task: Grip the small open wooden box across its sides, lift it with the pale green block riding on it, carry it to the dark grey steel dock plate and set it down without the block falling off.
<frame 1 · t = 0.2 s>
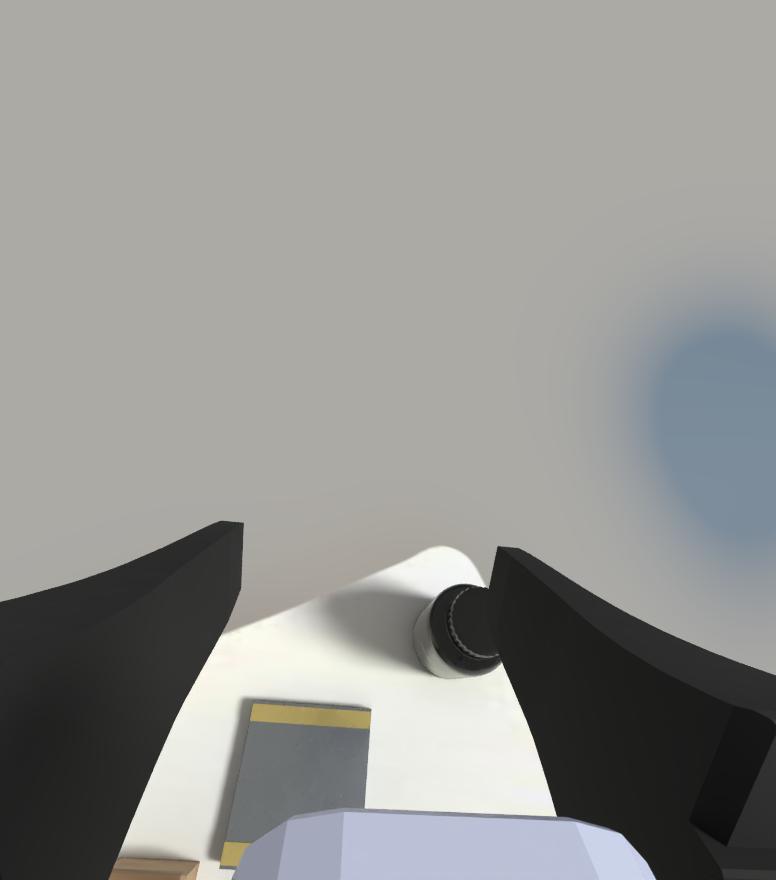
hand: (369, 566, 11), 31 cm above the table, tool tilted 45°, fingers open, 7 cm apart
supplement bottle: (446, 640, 39), on the table
dock: (303, 778, 32), on the table
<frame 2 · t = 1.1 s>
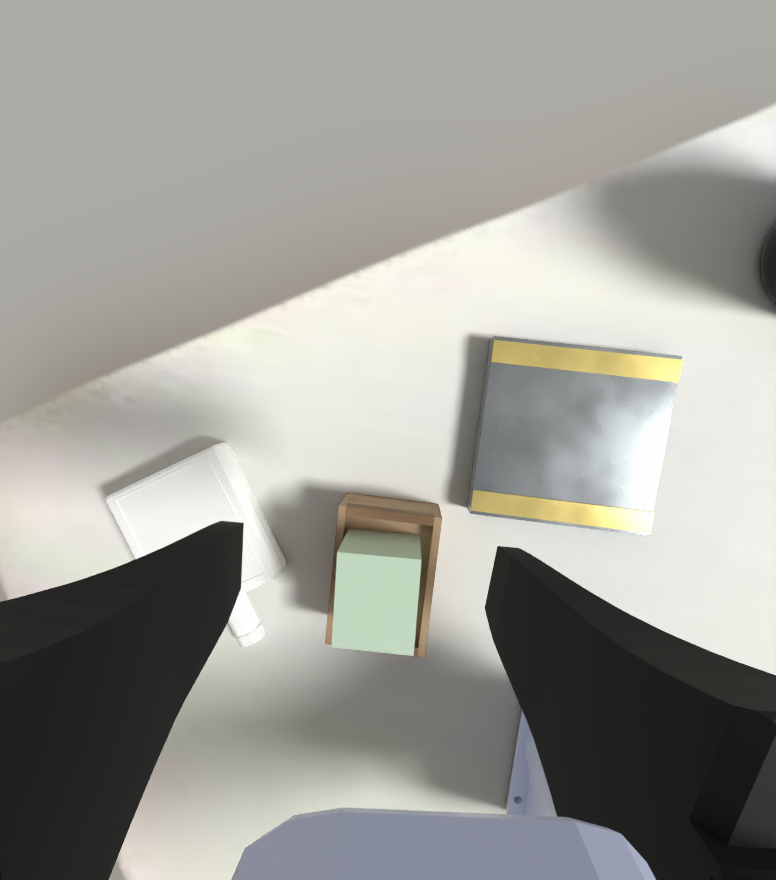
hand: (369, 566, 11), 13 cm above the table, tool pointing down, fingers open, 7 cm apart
open wooden box: (386, 558, 25), on the table
pale green block: (381, 573, 22), point 2 cm above the table
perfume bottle: (220, 549, 26), on the table
dock: (564, 435, 23), on the table
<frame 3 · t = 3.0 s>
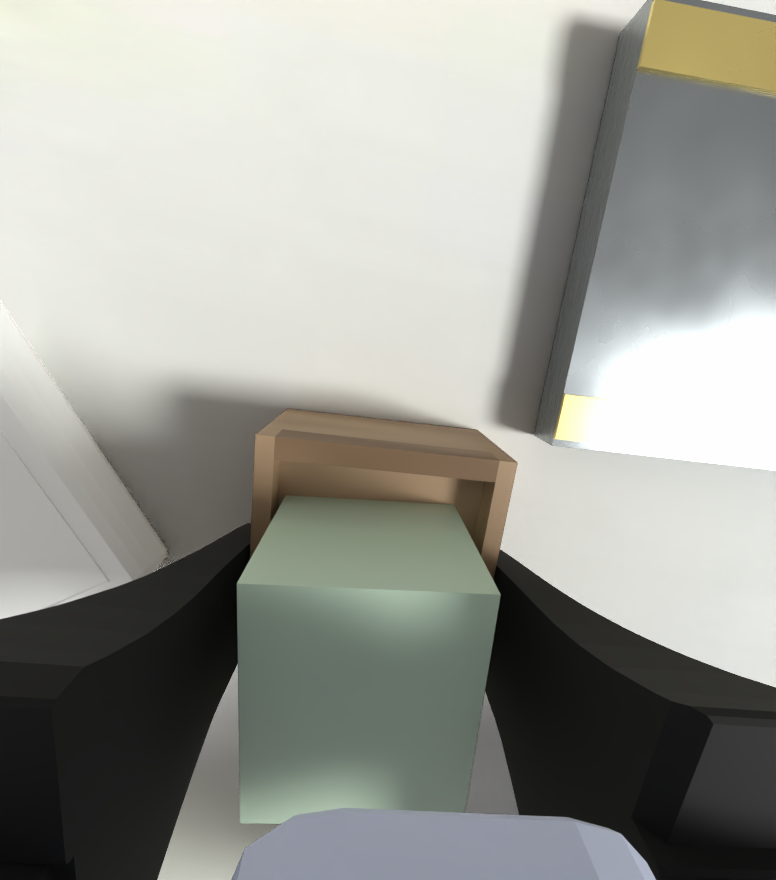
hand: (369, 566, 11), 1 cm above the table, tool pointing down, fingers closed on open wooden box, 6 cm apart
open wooden box: (369, 543, 13), on the table, touching pale green block, gripper
pale green block: (364, 589, 10), point 3 cm above the table, touching open wooden box
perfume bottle: (27, 527, 13), on the table
dock: (743, 281, 11), on the table
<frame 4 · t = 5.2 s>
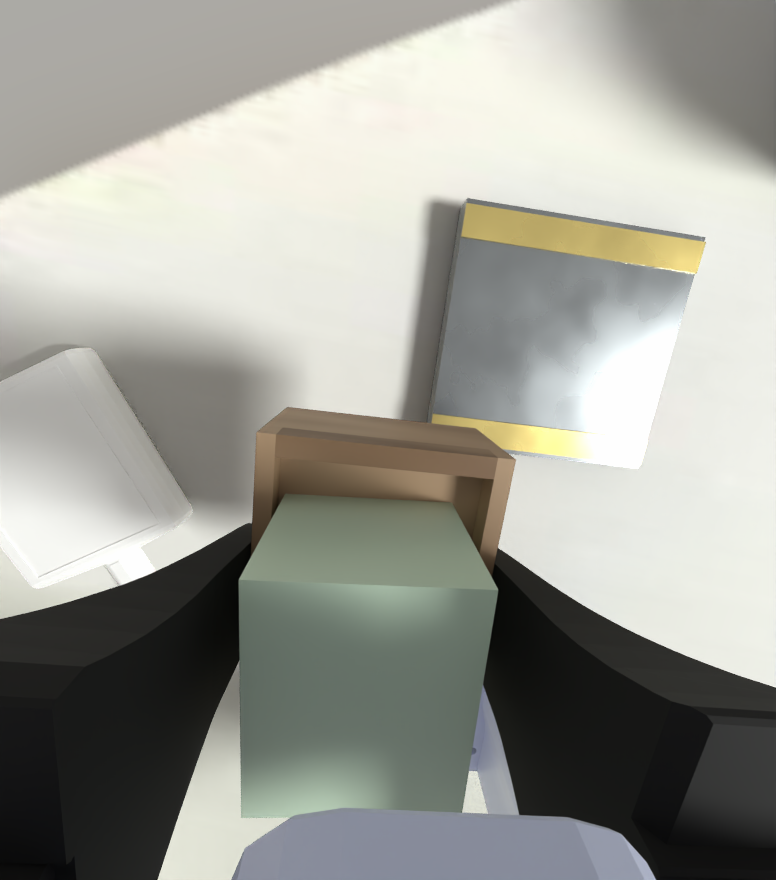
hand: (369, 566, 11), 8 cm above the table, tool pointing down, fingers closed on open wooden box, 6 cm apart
open wooden box: (368, 540, 13), point 7 cm above the table, touching pale green block, gripper
pale green block: (363, 586, 10), point 9 cm above the table, touching open wooden box
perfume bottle: (102, 494, 20), on the table
dock: (548, 345, 18), on the table
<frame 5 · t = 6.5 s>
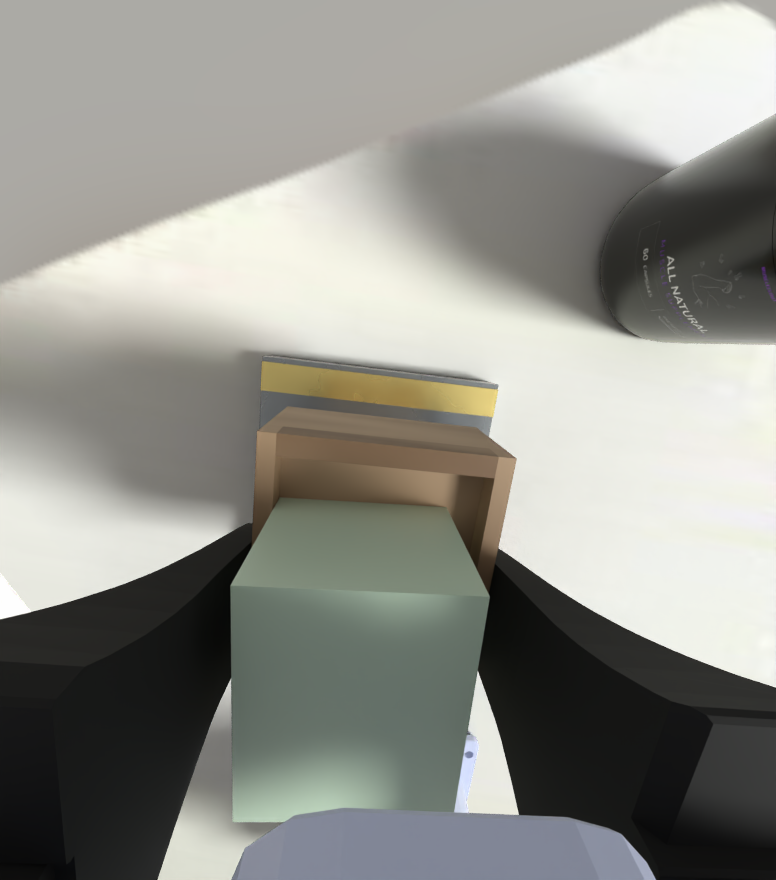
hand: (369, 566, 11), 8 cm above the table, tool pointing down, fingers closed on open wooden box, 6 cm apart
open wooden box: (368, 540, 13), point 7 cm above the table, touching pale green block, gripper
pale green block: (357, 590, 10), point 9 cm above the table, touching open wooden box
supplement bottle: (666, 265, 18), on the table
dock: (369, 473, 19), on the table
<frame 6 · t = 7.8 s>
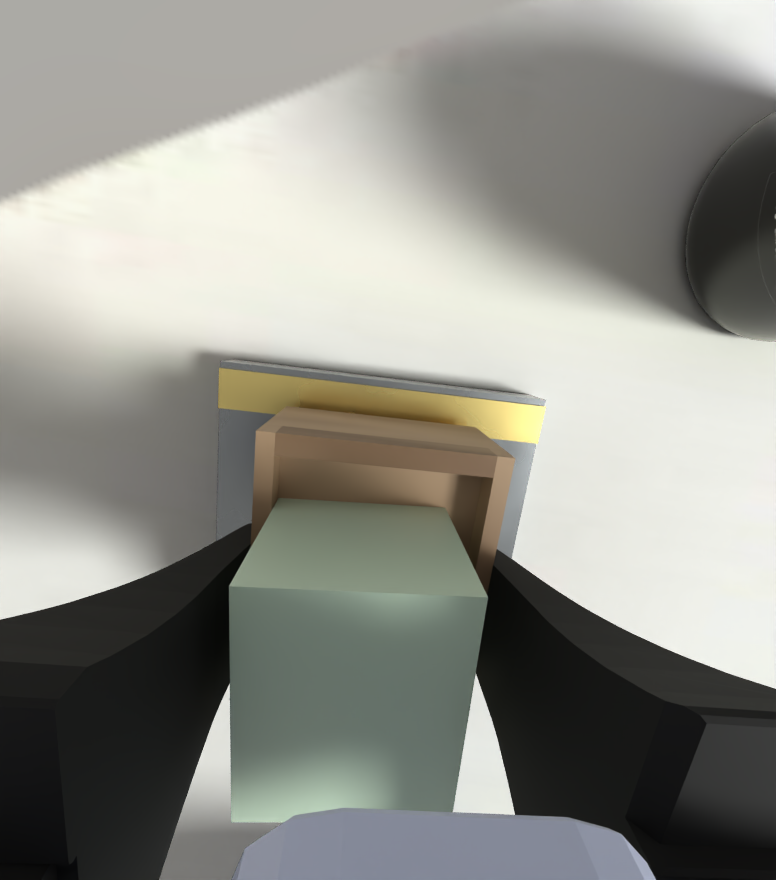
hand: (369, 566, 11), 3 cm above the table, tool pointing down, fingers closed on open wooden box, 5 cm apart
open wooden box: (367, 539, 13), point 2 cm above the table, touching pale green block, gripper
pale green block: (356, 590, 10), point 4 cm above the table, touching open wooden box
supplement bottle: (772, 236, 13), on the table
dock: (369, 515, 14), on the table
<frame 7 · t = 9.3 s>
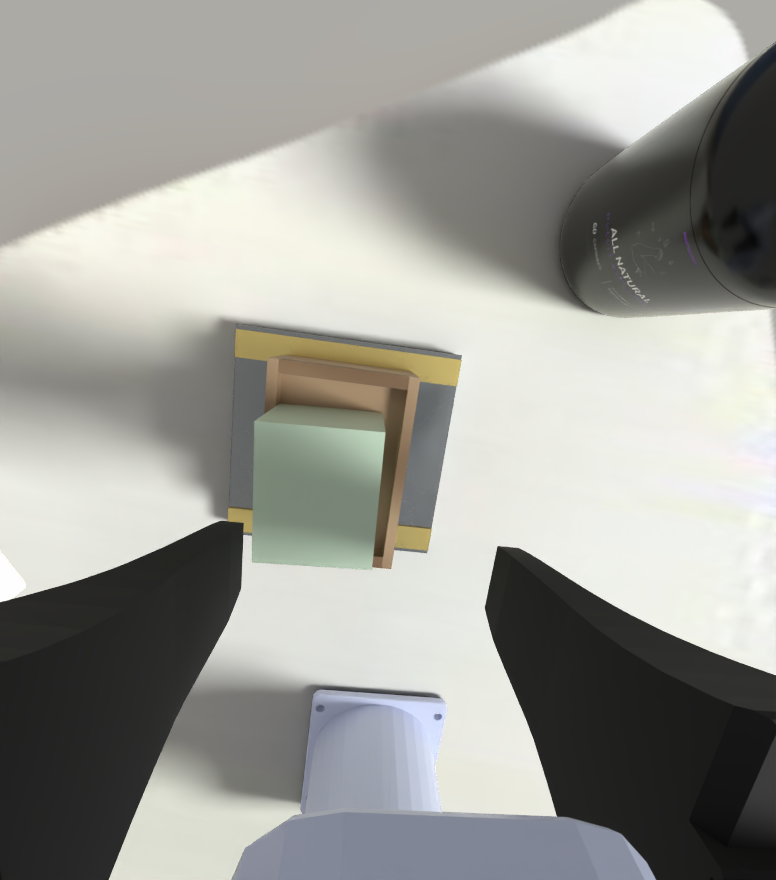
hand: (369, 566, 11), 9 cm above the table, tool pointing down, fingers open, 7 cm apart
open wooden box: (340, 448, 19), point 1 cm above the table, touching pale green block, dock
pale green block: (327, 466, 16), point 4 cm above the table, touching open wooden box
supplement bottle: (624, 244, 18), on the table
dock: (341, 441, 20), on the table
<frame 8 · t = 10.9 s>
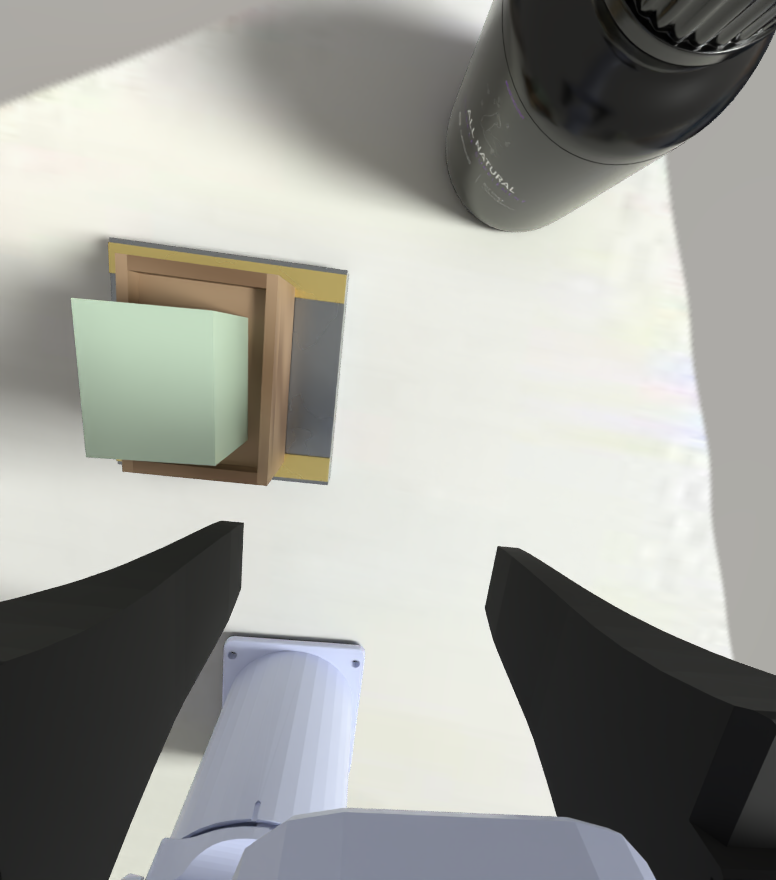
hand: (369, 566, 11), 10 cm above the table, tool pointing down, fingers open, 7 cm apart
open wooden box: (227, 371, 18), point 1 cm above the table, touching pale green block, dock
pale green block: (196, 376, 15), point 4 cm above the table, touching open wooden box
supplement bottle: (517, 155, 18), on the table
dock: (236, 369, 19), on the table
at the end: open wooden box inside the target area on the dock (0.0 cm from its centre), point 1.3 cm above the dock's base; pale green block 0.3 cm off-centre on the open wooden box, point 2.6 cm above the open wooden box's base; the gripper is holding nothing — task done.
